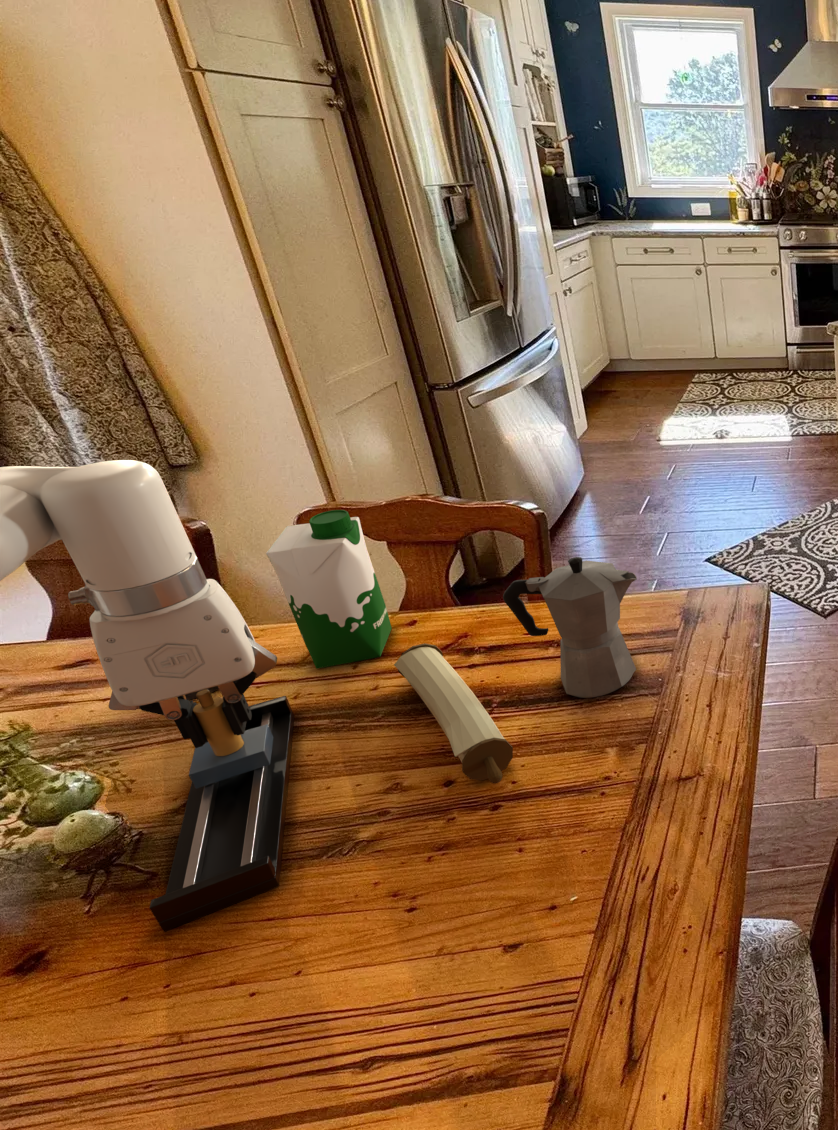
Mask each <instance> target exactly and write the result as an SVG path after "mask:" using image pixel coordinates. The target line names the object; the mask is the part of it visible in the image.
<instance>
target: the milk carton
mask: <svg viewBox="0 0 838 1130" xmlns="http://www.w3.org/2000/svg"><path fill="white" fill-rule="evenodd" d="M265 555H266V556H267V558H268V560H269V562H270V564H271V566H272V568H273V570H274V572H275V573H276V575H277V578H278V580H279V583H280V586H281V588H282V590H283V594H284V596H285V598H286V601H287V603H288V605H289V608H290V610H291V613H292V616H293V618H294V621H295V623H296V625H297V628H298V630H299V633H300V636H301V638H302V640H303V642H304V645H305V646H306V649H307V651H308V654H309V655H310V658H311V660H312V663H313V665H314V667H315V669H317V670H318V669H323V668H328V667H334V666H339V665H346V664H350V663H355V662H360V661H366V660H371V659H377V658H381V656H382V654H383V651H384V648H385V647H386V645H387V641H388V639H389V637H390V634H391V631H392V629H393V628H392V624H391V621H390V616H389V612H388V608H387V605H386V602H385V599H384V596H383V593H382V591H381V587H380V584H379V581H378V579H377V575H376V571H375V568H374V566H373V562H372V561H371V560H372V559H371V557H370V553H369V551H368V548H367V544H366V541H365V537H364V533H363V529H362V524H361V520H360V517H359V516H352V517H350V514H349V511H347V510H345V509H332V510H326V511H323V512H320V513H317V514H315V515H313V516H312V517H310V518H309V520H308V523H300V524H294V525H287V526H285V528H284V529H283V530H282V532H281V533H280V534H279V535H278V537H276V539H275V541H274V542H273V543H272V544H271V545H270V547H269V548H268V550H267V551H266V552H265Z"/></svg>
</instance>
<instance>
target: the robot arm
mask: <svg viewBox="0 0 838 1130" xmlns="http://www.w3.org/2000/svg"><path fill="white" fill-rule="evenodd" d="M58 541H62V543H63V545H64V546H65V549H66V550H67V552H68V554H69V556H70V558H71V560H72V562H73V563H74V566H75V568H76V570H77V571H78V573H79V575H80V576H81V579H82V580H83V583H84V586H83V587H80V588H79V589H77V590H71V591H68V593H67V596H68V600H69V603H70V605H72V606H79V605H82V604H83V605H88V604H90V605H91V606H92V607H93V608H94V611H93V612H92V614H91V615H90V616H89V627H90V631H91V632H90V633H91V636H92V640H93V644H94V647H95V650H96V654H97V656H98V659H99V661H100V666H101V667H102V670H103V673H104V675H105V678H106V680H107V683H108V685H109V687H110V689H111V695H110V699H109V702H108V709H109V710H111V711H137V710H141V711H142V712H147V713H151V714H155V715H160V716H164V718H165V719H166V720H168V721H174V724H175V725H176V727H177V729H178V732H179V733H180V735H181V736H182V739H183V740H189V739H190V741H191V743H192V745H193V747H194V749H195V748H198V747H201V746H203V745H204V744H205V742H206V736H205V734H204V732H203V730H202V728H201V726H200V724H199V722H198V720H197V718H196V716H195V714H194V712H193V708H194V707H195V706H196V705H197V704H198V703H197V702H196V701H194V699H191V700H186V697H185V694H189V693H193V692H196V691H200V690H204V689H207V688H211V687H214V686H218V688H219V689H218V691H220V693H221V695H222V698H223V705H222V710H223V712H224V714H225V716H226V718H227V721H228V723H229V725H230V727H231V729H232V731H233V733H234V735H241V734H244V732H245V727H246V722H247V721H249V720H251V718H252V713H251V710H250V708H249V706H250V705H249V703H248V701H247V699H246V697H245V695H244V694H246V692H247V690H248V689H249V688H250V687H251V686H252V684H254V682H255V680H256V679H257V678H259V677H261V676H264V675H265V674H266V673H267V672H270V671H271V670H272V669H274V668H275V667H276V665H277V663H278V656H277V655H276V654H275V653H273V652H271V651H270V650H268V649H267V648H265V647H264V646H263V645H261V644H260V643H258V642H256V639H255V637H254V635H253V634H252V631H251V629H250V628H249V626H248V623H247V622H246V621H245V619H244V617H243V615H242V613H241V611H240V610H239V608H238V607H237V606H236V604H235V602H234V601H233V600H232V598H231V596H230V595H228V593H227V592H226V590H224V588H223V587H222V586H221V585H220V584H219V582H218V581H217V580H215V579H214V578H207V577H206V575H205V572H204V570H203V568H202V566H201V564H200V562H199V561H200V560H199V559H198V557H197V554H196V552H195V549H194V548H193V546H192V543H191V541H190V539H189V537H188V535H187V532H186V530H185V528H184V525H183V523H182V521H181V519H180V516H179V515H178V512H177V510H176V507H175V505H174V503H173V501H172V499H171V496H170V494H169V492H168V490H167V488H166V486H165V483H164V481H163V479H162V477H161V475H160V473H159V472H158V471H157V469H155V467H153V466H152V465H150V464H149V463H146V462H144V461H140V460H134V459H119V460H118V459H116V460H105V461H99V462H93V463H88V464H84V465H80V466H35V465H33V466H32V465H31V466H30V465H16V466H15V465H11V466H9V465H8V466H0V582H2V581H3V580H4V579H5V578H7V577H8V576H9V575H11V574H12V573H14V572H15V571H16V570H17V569H19V568H20V567H21V566H22V565H23V564H24V563H26V562H27V561H28V560H29V559H31V558H32V557H33V556H34V555H35V554H36V553H38V552H39V551H41V550H43V549H44V548H46V547H48V546H50V545H53V544H55V543H56V542H58Z"/></svg>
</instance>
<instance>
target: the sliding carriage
mask: <svg viewBox="0 0 838 1130" xmlns="http://www.w3.org/2000/svg"><path fill="white" fill-rule="evenodd" d="M196 696H197V698H196V699H197V700H198V703H197V705H196V706H195V707H194V708H193V712H194V714H195V716H196V718H197V720H198V722H199V724H200V726H201V728H202V730H203V732H204V734H205V736H206V738H207V740H208V742H207V743H205V744H204V745H203V746H201V747H198V748H195V747H194V750H193V756H192V758H191V763H190V768H189V772H188V777H189V779H190V781H191V783H193V784H194V786H195V788H196V789H197V788H200V787H203V786H206V785H209V784H212V783H215V782H218V781H221V780H225V779H228V778H231V777H234V776H237V775H240V774H243V773H246V772H249V771H252V770H255V769H258V768H261V767H264V766H267V765H270V761H271V753H272V744H273V735H272V733H271V731H270V729H269V726H268V725H267V724H266V725H263V726H259V727H256V728H253V729H249V730H246V731H245V732H244V734H241V735H234V733H233V731H232V729H231V727H230V725H229V723H228V721H227V718H226V716H225V714H224V712H223V710H222V705H223V697H221V696H214V697H213V696H212V693H210V691H209V690H202V691H200V692H198V693H197V694H196Z"/></svg>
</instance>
